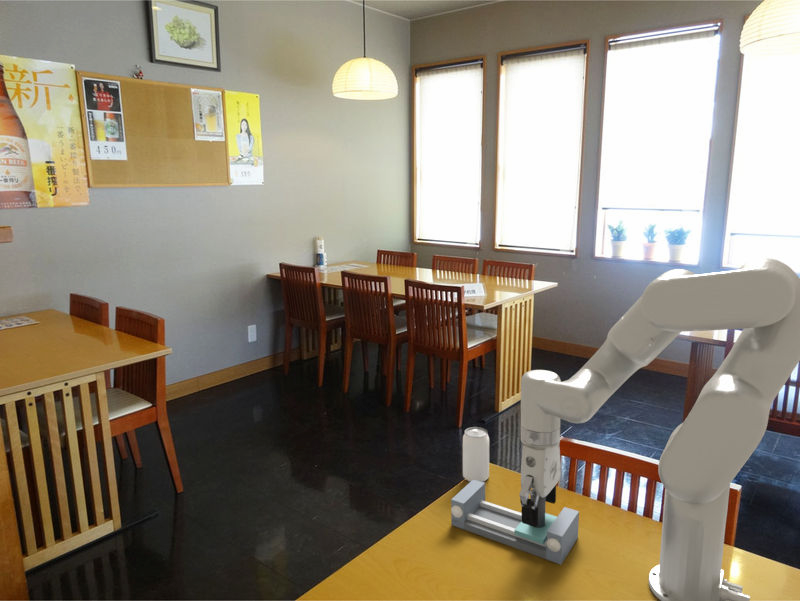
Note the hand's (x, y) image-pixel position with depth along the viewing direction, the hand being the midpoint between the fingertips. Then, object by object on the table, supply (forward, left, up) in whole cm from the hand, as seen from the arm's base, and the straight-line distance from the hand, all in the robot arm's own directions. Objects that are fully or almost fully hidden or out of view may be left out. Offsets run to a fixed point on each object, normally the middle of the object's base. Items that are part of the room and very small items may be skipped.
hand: (539, 512), depth 114 cm
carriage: (0, 0, -4) cm, 4 cm away
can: (+23, -16, -6) cm, 28 cm away
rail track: (+6, 0, -6) cm, 8 cm away
